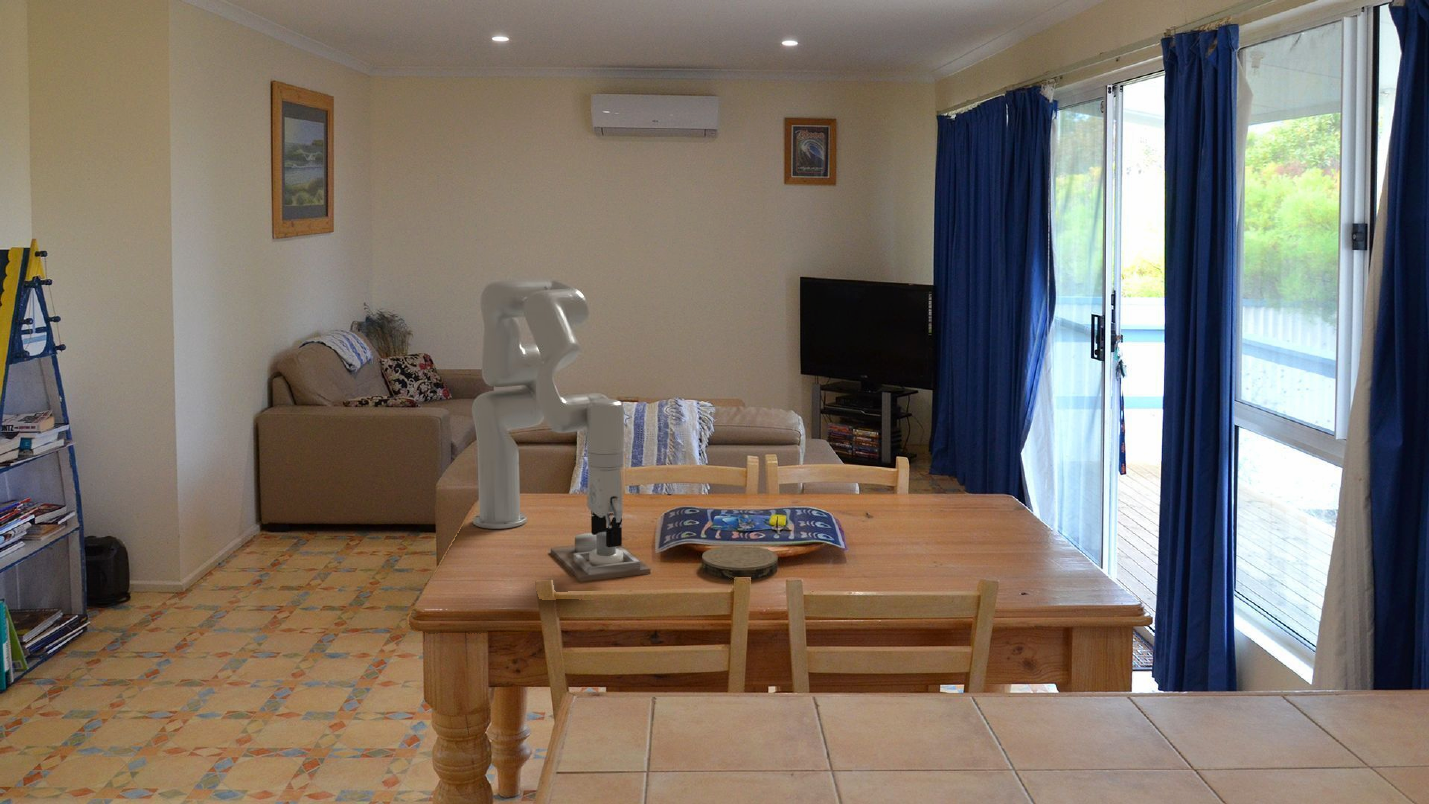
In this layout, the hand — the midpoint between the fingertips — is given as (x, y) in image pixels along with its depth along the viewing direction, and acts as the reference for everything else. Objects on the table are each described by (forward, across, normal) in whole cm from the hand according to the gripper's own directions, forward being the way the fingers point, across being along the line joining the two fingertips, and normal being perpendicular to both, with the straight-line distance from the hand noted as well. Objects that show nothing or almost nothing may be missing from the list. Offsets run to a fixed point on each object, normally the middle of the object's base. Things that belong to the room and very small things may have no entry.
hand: (606, 540), depth 250 cm
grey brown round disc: (+7, +10, +26) cm, 29 cm away
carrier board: (+6, -5, 0) cm, 8 cm away
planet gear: (+5, 0, 0) cm, 5 cm away
